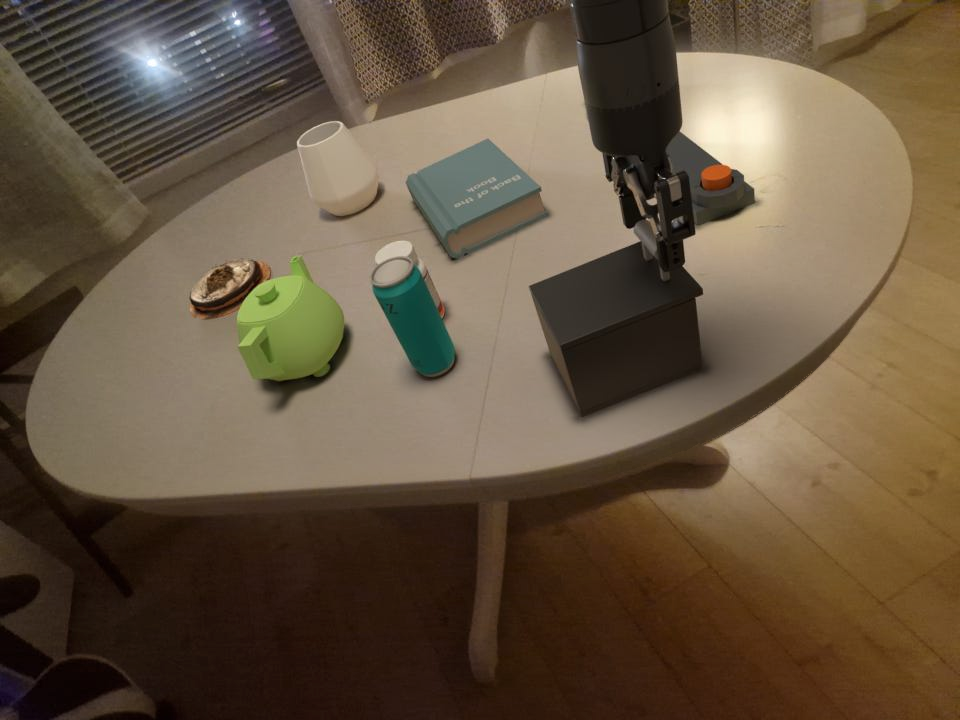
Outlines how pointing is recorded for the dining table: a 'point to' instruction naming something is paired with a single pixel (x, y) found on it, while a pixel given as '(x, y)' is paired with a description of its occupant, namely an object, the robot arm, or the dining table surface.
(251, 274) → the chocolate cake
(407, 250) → the pill bottle
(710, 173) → the button
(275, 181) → the dining table surface
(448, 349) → the beverage can
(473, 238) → the book
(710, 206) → the control pad
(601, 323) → the box lid
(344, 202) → the cup
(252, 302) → the teapot
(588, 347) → the hinged lid box
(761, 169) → the dining table surface
